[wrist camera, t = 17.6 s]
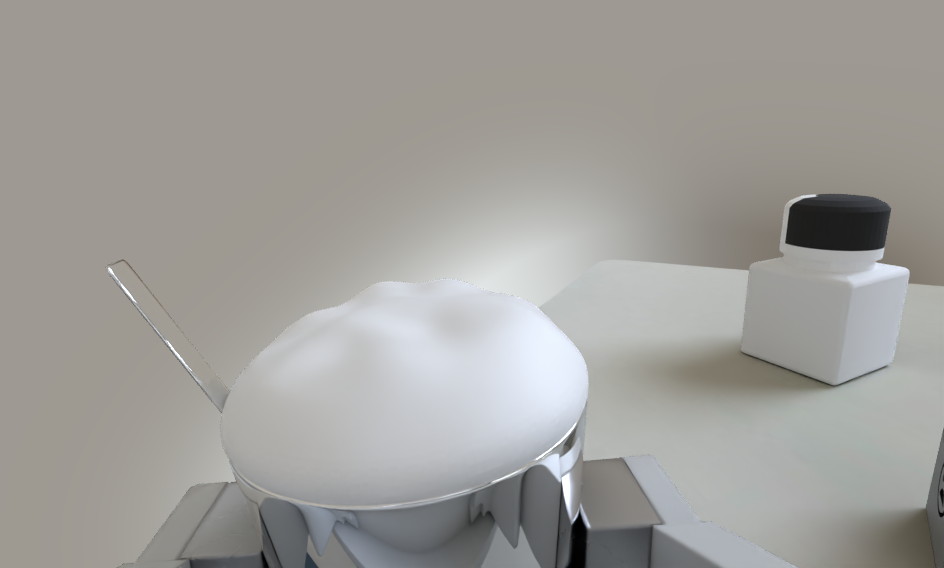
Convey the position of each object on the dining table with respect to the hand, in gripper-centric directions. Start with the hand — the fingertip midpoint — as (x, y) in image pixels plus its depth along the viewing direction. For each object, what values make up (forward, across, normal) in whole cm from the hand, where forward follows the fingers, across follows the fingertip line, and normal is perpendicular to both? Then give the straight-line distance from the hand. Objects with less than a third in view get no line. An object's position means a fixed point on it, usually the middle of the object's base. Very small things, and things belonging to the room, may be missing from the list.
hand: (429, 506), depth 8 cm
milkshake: (-1, 0, +6) cm, 6 cm away
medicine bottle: (+27, -28, +11) cm, 40 cm away
